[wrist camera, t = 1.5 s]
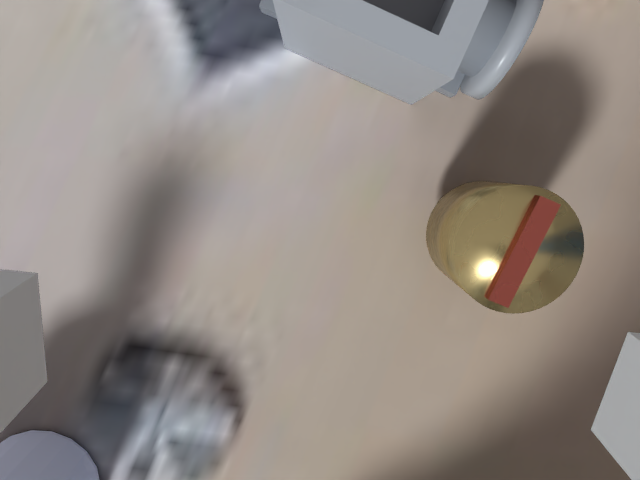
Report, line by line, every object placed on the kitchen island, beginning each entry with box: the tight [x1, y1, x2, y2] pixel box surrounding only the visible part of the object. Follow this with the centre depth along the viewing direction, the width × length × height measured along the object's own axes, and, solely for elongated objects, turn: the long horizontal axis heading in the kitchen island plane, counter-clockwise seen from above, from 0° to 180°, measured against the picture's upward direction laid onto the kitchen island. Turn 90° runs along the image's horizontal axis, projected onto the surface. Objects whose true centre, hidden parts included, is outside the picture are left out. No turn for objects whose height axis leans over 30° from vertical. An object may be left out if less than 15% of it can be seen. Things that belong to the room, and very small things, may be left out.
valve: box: [426, 181, 584, 313], centre depth 28 cm, size 7×7×9 cm
